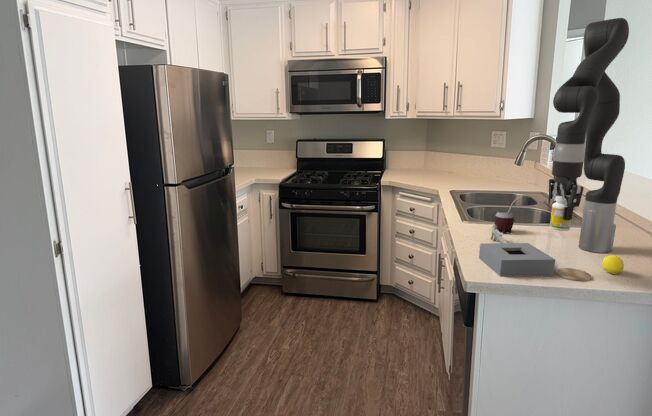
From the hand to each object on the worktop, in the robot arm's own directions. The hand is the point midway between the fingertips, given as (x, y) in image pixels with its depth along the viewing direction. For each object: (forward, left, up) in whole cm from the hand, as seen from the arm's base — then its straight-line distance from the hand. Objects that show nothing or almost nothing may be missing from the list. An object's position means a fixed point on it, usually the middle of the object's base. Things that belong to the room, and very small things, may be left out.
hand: (561, 217), depth 126 cm
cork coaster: (-4, +3, -17) cm, 18 cm away
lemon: (-17, +1, -17) cm, 24 cm away
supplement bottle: (0, 0, -4) cm, 4 cm away
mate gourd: (-4, -43, -17) cm, 47 cm away
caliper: (+5, -24, -18) cm, 30 cm away
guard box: (+10, -5, -17) cm, 20 cm away
